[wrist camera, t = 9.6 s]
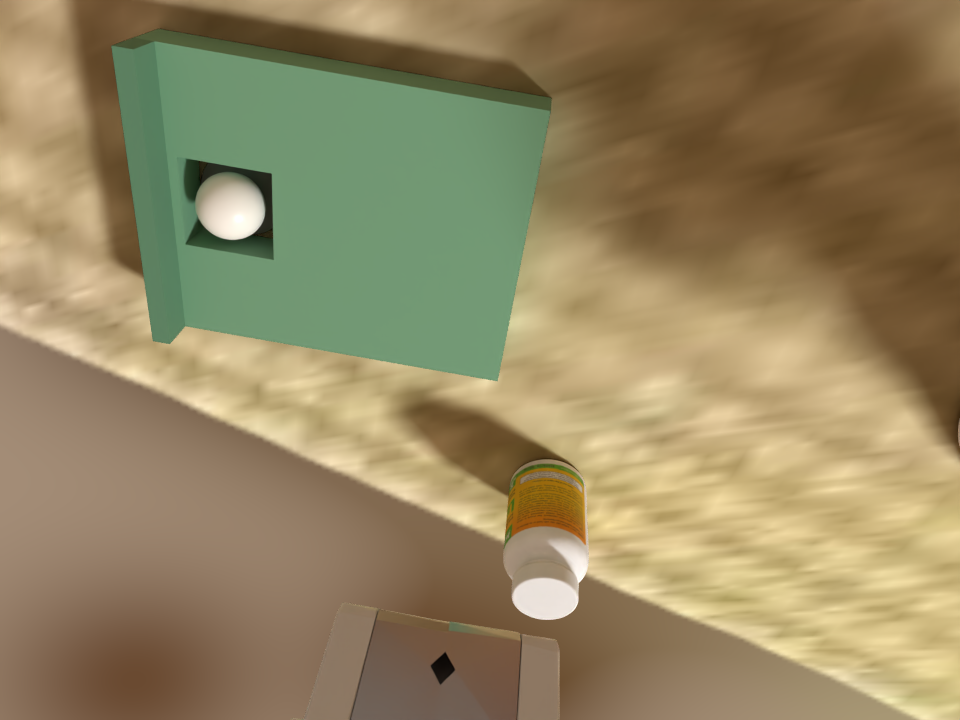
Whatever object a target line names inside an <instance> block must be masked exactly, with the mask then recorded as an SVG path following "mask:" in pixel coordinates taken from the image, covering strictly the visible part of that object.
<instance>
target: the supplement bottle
mask: <svg viewBox="0 0 960 720" xmlns="http://www.w3.org/2000/svg"><path fill="white" fill-rule="evenodd" d="M503 557H504V558H503V560H504V566H505V569H506V571H507V573H508V575H509V576H510V578H511V579H512V581H513V582H512V600H513V603H514V605H515V606H516V608H518V610H520V611H521V612H522V613H524V614H526V615H528V616H530V617H533V618H537V619H543V620H552V619H558V618H561V617H564V616H566V615H568V614H570V613H571V612H572V611H573V610H574V609H575V608H576V606H577V604H578V589H579V586H578V585H579V584H578V583H579V582H580V581H581V580H582V579H583V577H584V576H585V574H586V572H587V568H588V559H589V550H588V522H587V495H586V485H585V482H584V479H583V478H582V476H581V475H580V473H579V472H578V471H577V470H576V469H575V468H573V467H572V466H570V465H568V464H566V463H564V462H561V461H558V460H552V459H541V460H536V461H532V462H529V463H527V464H525V465H523V466H522V467H520V468H519V469H518V470H517V471H516V472H515V473H514V475H513V477H512V479H511V482H510V487H509V498H508V509H507V522H506V532H505V544H504V556H503Z"/></svg>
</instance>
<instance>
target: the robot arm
mask: <svg viewBox="0 0 960 720" xmlns="http://www.w3.org/2000/svg"><path fill="white" fill-rule="evenodd" d="M958 441H959V446H960V420H959V426H958ZM291 720H559V646H558V644H557V641H556V640H555V639H549V638H542V637H535V636H529V635H523V634H519V633H518V632H512V631H506V630H500V629H494V628H487V627H481V626H475V625H468V624H462V623H455V622H444V621H439V620H434V619H428V618H422V617H418V616H413V615H407V614H402V613H397V612H391V611H386V610H381V609H378V608H372V607H366V606H361V605H355V604H349V603H344V602H343V603H342V605H341V607H340V608H339V610H338V612H337V614H336V618H335V621H334V624H333V627H332V631H331V634H330V637H329V640H328V643H327V646H326V650H325V653H324V656H323V659H322V663H321V666H320V669H319V672H318V676H317V678H316V682H315V685H314V688H313V692H312V694H311V698H310V701H309V704H308V708H307V711H306V714H305V717H304V719H296V718H292V719H291Z"/></svg>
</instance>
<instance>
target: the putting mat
mask: <svg viewBox="0 0 960 720" xmlns="http://www.w3.org/2000/svg"><path fill="white" fill-rule="evenodd" d="M111 47H112V54H113V61H114V68H115V75H116V83H117V90H118V97H119V104H120V111H121V118H122V125H123V132H124V139H125V147H126V154H127V161H128V168H129V175H130V182H131V189H132V196H133V203H134V210H135V218H136V225H137V232H138V239H139V246H140V253H141V260H142V267H143V274H144V282H145V289H146V296H147V303H148V310H149V317H150V324H151V331H152V338H153V341H156V342H161V343H167V344H170V343H171V342H172V341H173V340H174V339H175V338H176V336H177V335H178V334H179V333H180V332H181V331H182V329H183V328H184V327H185V326H187V327H193V328H199V329H204V330H210V331H216V332H221V333H227V334H233V335H238V336H244V337H250V338H255V339H261V340H267V341H272V342H278V343H284V344H289V345H295V346H301V347H306V348H312V349H318V350H323V351H329V352H335V353H340V354H346V355H352V356H357V357H363V358H369V359H374V360H380V361H386V362H391V363H397V364H403V365H408V366H414V367H420V368H425V369H431V370H437V371H442V372H448V373H454V374H459V375H465V376H471V377H476V378H482V379H488V380H493V381H498V376H499V371H500V366H501V361H502V356H503V351H504V346H505V341H506V336H507V331H508V326H509V320H510V315H511V310H512V305H513V300H514V295H515V290H516V285H517V280H518V275H519V270H520V265H521V260H522V255H523V249H524V244H525V239H526V234H527V229H528V224H529V219H530V214H531V209H532V204H533V199H534V194H535V189H536V184H537V178H538V173H539V168H540V163H541V158H542V153H543V148H544V143H545V138H546V133H547V128H548V123H549V118H550V113H551V99H552V98H549V97H544V96H538V95H532V94H526V93H521V92H515V91H509V90H504V89H498V88H492V87H487V86H481V85H475V84H470V83H464V82H458V81H453V80H447V79H441V78H436V77H430V76H424V75H419V74H413V73H407V72H402V71H396V70H390V69H385V68H379V67H373V66H368V65H362V64H356V63H351V62H345V61H339V60H334V59H328V58H322V57H316V56H311V55H305V54H299V53H294V52H288V51H282V50H277V49H271V48H265V47H260V46H254V45H248V44H243V43H237V42H231V41H226V40H220V39H214V38H209V37H203V36H197V35H192V34H186V33H180V32H175V31H169V30H163V29H156V30H154V31H151V32H148V33H145V34H142V35H140V36H137V37H134V38H131V39H128V40H126V41H123V42H120V43H117V44H114V45H112V46H111ZM199 161H203V162H209V163H208V164H207V165H206V167H205V169H204V171H203V174H202V177H201V184H200V171H199ZM222 172H235V173H239V174H242V175H244V176H246V177H248V178H249V179H251V180H252V181H253V182H254V183H255V184H256V185H257V186H258V187H259V189H260V190H261V192H262V194H263V196H264V199H265V204H266V212H265V217H264V220H263V222H262V224H261V226H260V227H259V228H258V230H257V231H255V232H254V233H253V234H261V233H264V232H267V231H269V230H271V229H272V228H273V239H272V238H266V237H261V236H255V235H250V236H248V237H246V238H243V239H238V240H228V239H223V238H220V237H218V236H215V235H214V234H212V233H211V232H209V231H208V230H207V229H206V228H205V227H204V226H203V225H202V223H201V222H200V220H199V218H198V216H197V212H196V207H195V200H196V195H197V192H198V190H199V188H200V186H201V185H202V183H203V182H204V181H205V180H206V179H208V178H209V177H211V176H213V175H215V174H217V173H222Z"/></svg>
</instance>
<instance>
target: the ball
mask: <svg viewBox="0 0 960 720" xmlns="http://www.w3.org/2000/svg"><path fill="white" fill-rule="evenodd" d="M195 207H196V212H197V216H198V218H199V220H200V222H201V223H202V225H203V226H204V227H205V228H206V229H207V230H208V231H209V232H211V233H212V234H214V235H215V236H218V237H220V238H223V239H228V240H238V239H243V238H246V237H248V236H250V235H252V234H253V233H254V232H255V231H257V230H258V228H259V227H260V226H261V224H262V222H263V220H264V217H265V212H266V204H265V199H264V196H263V194H262V192H261V190H260V189H259V187H258V186H257V185H256V184H255V183H254V182H253V181H252V180H251V179H249V178H248V177H246V176H244V175H242V174H239V173H235V172H222V173H217V174H215V175H213V176H211V177H209V178H208V179H206V180H205V181H204V182H203V183H202V185H201V186H200V188H199V190H198V192H197V195H196V200H195Z"/></svg>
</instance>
